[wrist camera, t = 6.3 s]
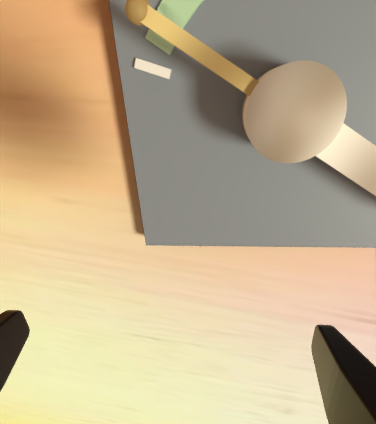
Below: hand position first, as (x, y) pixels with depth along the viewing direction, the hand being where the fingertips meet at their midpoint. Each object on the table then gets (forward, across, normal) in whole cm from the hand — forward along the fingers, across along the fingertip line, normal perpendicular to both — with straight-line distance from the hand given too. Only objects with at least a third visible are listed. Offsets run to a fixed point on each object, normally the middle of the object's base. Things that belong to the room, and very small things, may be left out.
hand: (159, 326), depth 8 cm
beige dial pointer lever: (+10, -5, -5) cm, 13 cm away
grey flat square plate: (+12, -5, -5) cm, 14 cm away
